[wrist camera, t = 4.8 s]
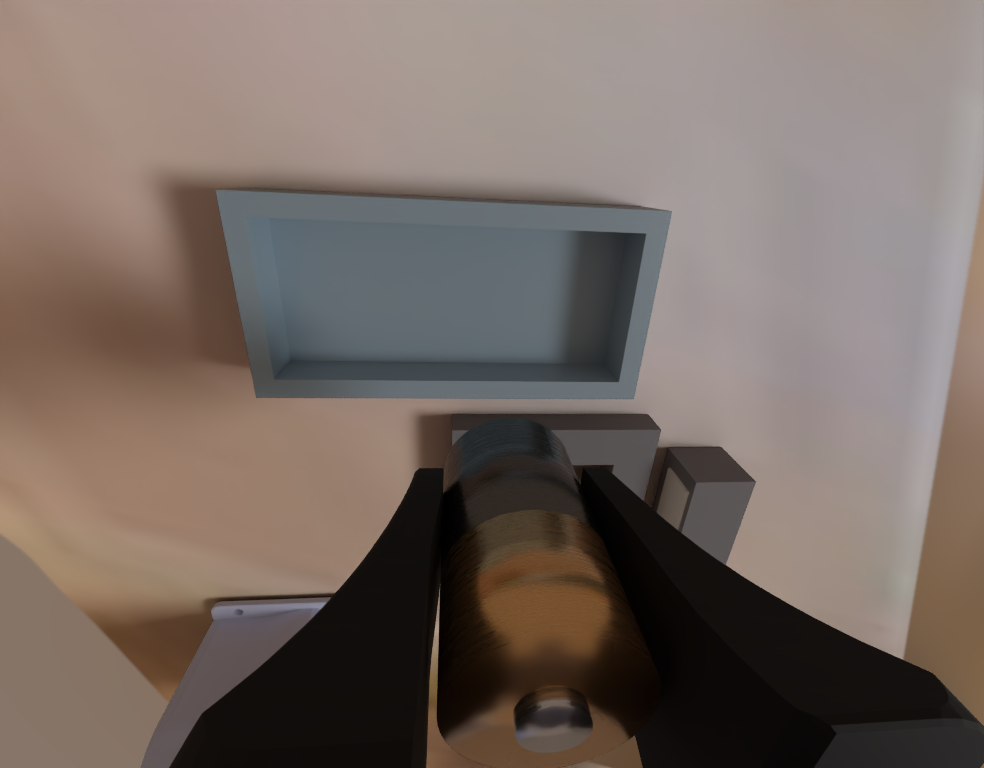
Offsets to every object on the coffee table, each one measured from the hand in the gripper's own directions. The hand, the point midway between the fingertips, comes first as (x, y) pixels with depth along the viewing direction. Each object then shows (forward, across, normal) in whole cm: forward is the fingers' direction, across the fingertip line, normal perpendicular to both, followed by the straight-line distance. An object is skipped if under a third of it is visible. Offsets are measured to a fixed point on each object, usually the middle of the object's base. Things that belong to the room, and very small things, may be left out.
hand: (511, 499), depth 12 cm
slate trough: (+10, +2, -3) cm, 11 cm away
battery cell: (+1, 0, 0) cm, 1 cm away
